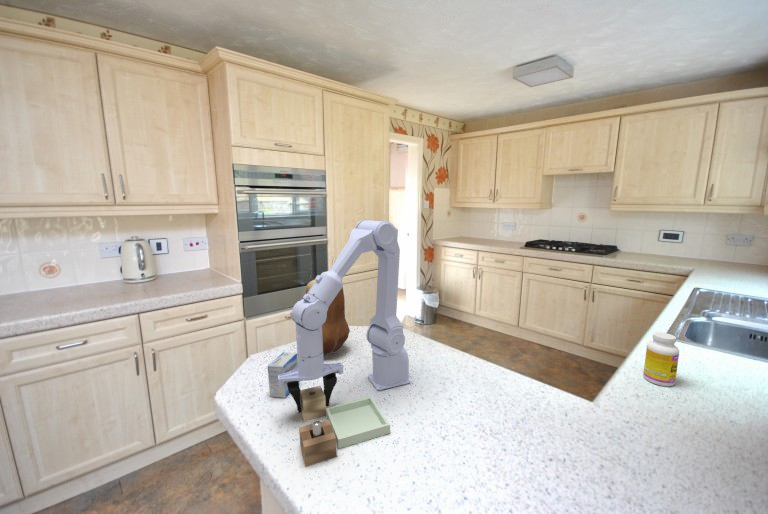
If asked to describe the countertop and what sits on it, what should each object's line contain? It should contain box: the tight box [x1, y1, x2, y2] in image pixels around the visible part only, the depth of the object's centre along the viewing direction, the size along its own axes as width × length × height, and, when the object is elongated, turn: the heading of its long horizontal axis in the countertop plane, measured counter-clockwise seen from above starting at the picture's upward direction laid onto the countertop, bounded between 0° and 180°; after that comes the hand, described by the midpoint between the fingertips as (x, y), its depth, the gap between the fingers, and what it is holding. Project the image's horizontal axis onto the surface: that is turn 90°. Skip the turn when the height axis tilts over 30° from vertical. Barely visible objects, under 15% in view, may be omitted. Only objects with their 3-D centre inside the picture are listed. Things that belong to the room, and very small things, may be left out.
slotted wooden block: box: [298, 419, 338, 467], centre depth 65 cm, size 6×6×4 cm
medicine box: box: [267, 351, 298, 399], centre depth 87 cm, size 8×4×9 cm, turn 168°
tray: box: [325, 396, 391, 449], centre depth 73 cm, size 11×11×2 cm
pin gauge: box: [311, 420, 321, 438], centre depth 65 cm, size 2×2×6 cm
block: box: [300, 385, 327, 423], centre depth 77 cm, size 5×5×5 cm
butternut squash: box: [305, 279, 351, 355], centre depth 107 cm, size 14×13×25 cm
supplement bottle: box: [642, 331, 680, 387], centre depth 88 cm, size 7×7×13 cm
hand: (313, 407), depth 77 cm, fingers open, 6 cm apart
